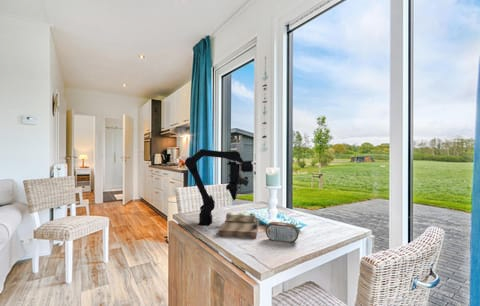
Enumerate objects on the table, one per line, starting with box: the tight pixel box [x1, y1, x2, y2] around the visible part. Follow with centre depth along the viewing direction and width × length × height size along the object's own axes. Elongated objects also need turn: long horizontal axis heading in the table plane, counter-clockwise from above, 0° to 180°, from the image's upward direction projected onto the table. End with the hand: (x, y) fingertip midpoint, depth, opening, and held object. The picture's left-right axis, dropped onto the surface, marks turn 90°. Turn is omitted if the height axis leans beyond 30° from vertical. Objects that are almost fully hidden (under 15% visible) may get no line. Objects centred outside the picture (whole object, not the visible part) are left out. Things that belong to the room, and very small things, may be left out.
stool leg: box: [225, 212, 256, 222], centre depth 128 cm, size 16×4×4 cm, turn 81°
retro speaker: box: [265, 221, 300, 244], centre depth 108 cm, size 15×3×8 cm, turn 74°
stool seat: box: [218, 217, 260, 240], centre depth 123 cm, size 18×22×5 cm
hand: (234, 199), depth 136 cm, fingers open, 2 cm apart
